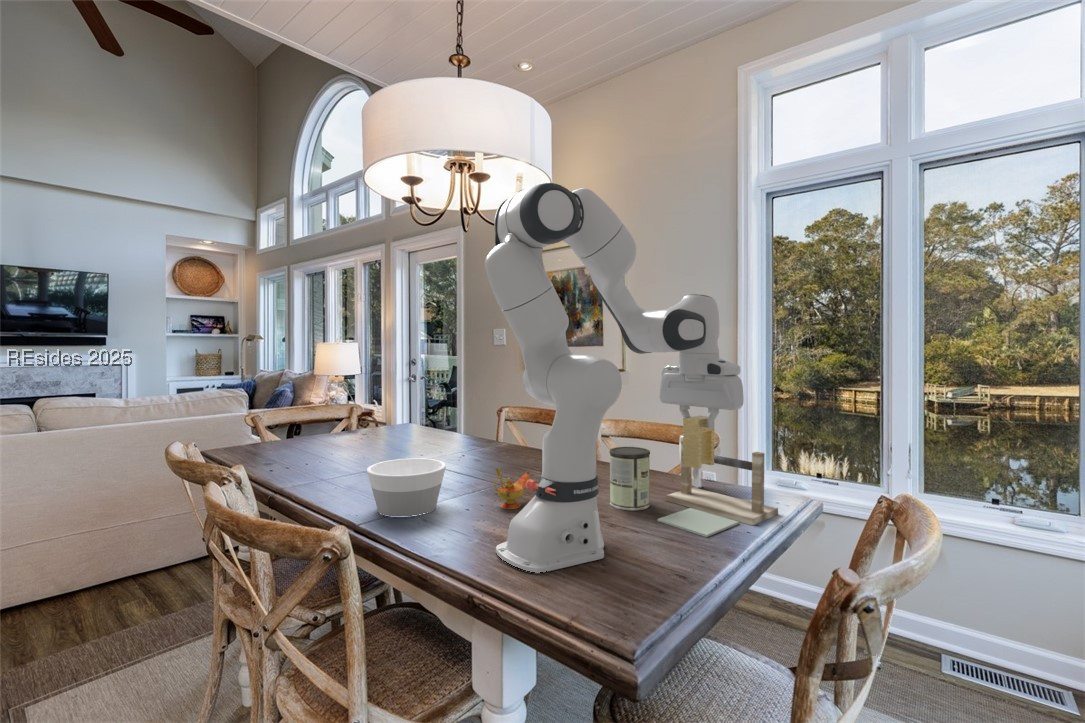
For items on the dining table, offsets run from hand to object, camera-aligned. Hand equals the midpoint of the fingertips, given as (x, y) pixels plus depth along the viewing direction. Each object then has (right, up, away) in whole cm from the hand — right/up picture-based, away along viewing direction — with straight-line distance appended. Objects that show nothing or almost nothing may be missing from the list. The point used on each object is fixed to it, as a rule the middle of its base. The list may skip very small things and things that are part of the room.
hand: (698, 426), depth 115 cm
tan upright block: (0, -9, 0) cm, 9 cm away
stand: (+9, -22, +12) cm, 27 cm away
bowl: (-70, -22, +11) cm, 74 cm away
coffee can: (-14, -22, +14) cm, 30 cm away
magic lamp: (-43, -22, +14) cm, 51 cm away
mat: (0, -22, 0) cm, 22 cm away
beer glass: (+7, -22, +31) cm, 39 cm away
